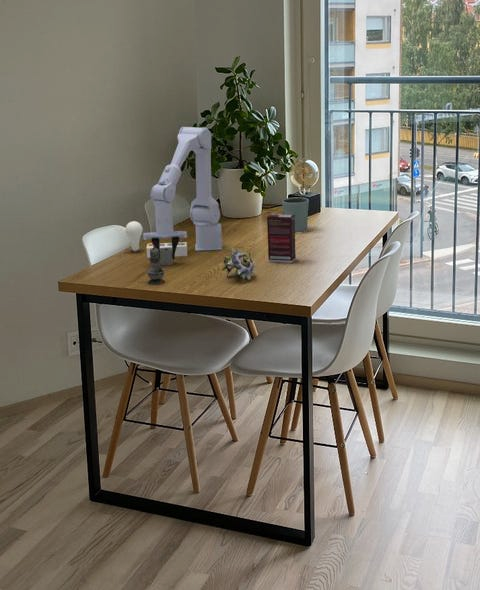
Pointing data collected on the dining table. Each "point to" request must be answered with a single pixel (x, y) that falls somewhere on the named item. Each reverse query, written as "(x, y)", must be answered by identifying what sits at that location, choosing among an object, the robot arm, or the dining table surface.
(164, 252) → the block
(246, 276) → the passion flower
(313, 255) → the dining table surface
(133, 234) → the lightbulb
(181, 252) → the power strip
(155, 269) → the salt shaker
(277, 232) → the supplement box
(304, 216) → the grey green plant pot
